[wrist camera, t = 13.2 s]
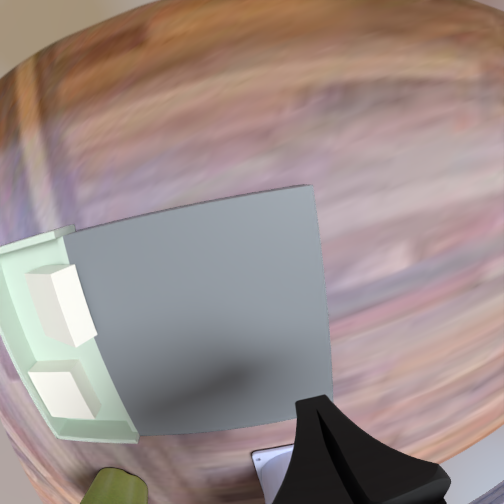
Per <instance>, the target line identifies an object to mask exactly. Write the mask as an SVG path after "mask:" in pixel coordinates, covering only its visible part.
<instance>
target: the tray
mask: <svg viewBox="0 0 504 504" xmlns="http://www.w3.org/2000/svg"><path fill="white" fill-rule="evenodd" d="M75 231H76V230H75V225H74V224H72V225H69V226H65V227H62V228H58V229H54V230H51V231H48V232H44V233H41V234H37V235H34V236H31V237H27V238H24V239H21V240H18V241H14V242H11V243H8V244H5V245H2V246H0V335H1V337H2V339H3V342H4V344H5V346H6V349H7V351H8V353H9V355H10V357H11V359H12V362H13V364H14V366H15V368H16V370H17V372H18V374H19V376H20V378H21V380H22V382H23V383H24V385H25V387H26V389H27V391H28V393H29V394H30V396H31V398H32V400H33V402H34V403H35V405H36V407H37V408H38V410H39V412H40V413H41V415H42V417H43V418H44V420H45V421H46V423H47V425H48V426H49V428H50V429H51V431H52V432H53V434H54V435H55V437H56V438H57V439H65V440H74V441H86V442H101V443H131V444H138V441H139V438H140V435H139V433H138V431H137V430H136V428H135V426H134V424H133V422H132V420H131V418H130V417H129V415H128V413H127V411H126V409H125V407H124V405H123V403H122V401H121V399H120V397H119V395H118V392H117V390H116V388H115V386H114V384H113V382H112V380H111V377H110V375H109V373H108V371H107V368H106V366H105V364H104V361H103V359H102V357H101V354H100V352H99V349H98V347H97V344H96V342H95V339H94V337H93V338H91V339H90V340H88V341H86V342H85V343H83V344H81V345H80V346H78V347H77V348H75V347H73V346H70V345H68V344H65V343H62V342H60V341H58V340H55V339H53V338H50V337H48V336H46V335H45V333H44V330H43V328H42V325H41V323H40V320H39V317H38V315H37V312H36V309H35V306H34V303H33V300H32V297H31V294H30V291H29V288H28V285H27V282H26V278H25V275H24V273H27V272H29V271H32V270H34V269H37V268H39V267H42V266H44V265H66V264H70V263H69V260H68V256H67V252H66V248H65V244H64V240H63V236H64V235H67V234H69V233H72V232H75ZM71 359H80V361H81V364H82V366H83V368H84V370H85V373H86V375H87V377H88V379H89V381H90V383H91V385H92V387H93V389H94V391H95V393H96V395H97V397H98V399H99V401H100V403H101V407H100V409H99V412H98V414H97V416H96V418H95V419H80V418H63V417H52V416H51V414H50V412H49V411H48V409H47V407H46V405H45V404H44V402H43V400H42V398H41V397H40V395H39V393H38V391H37V389H36V388H35V386H34V384H33V382H32V380H31V378H30V376H29V374H28V371H29V370H30V369H31V368H32V367H33V365H34V364H35V363H36V362H37V361H48V360H71Z"/></svg>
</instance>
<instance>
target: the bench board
mask: <svg viewBox="0 0 504 504" xmlns="http://www.w3.org/2000/svg"><path fill="white" fill-rule="evenodd" d="M63 240H64V244H65V248H66V252H67V256H68V260H69V263H70V264H75V267H76V270H77V274H78V277H79V281H80V284H81V287H82V291H83V294H84V297H85V300H86V303H87V306H88V309H89V312H90V315H91V318H92V321H93V324H94V326H95V329H96V332H97V334H98V335H96V336H94V339H95V342H96V344H97V347H98V349H99V352H100V354H101V357H102V359H103V361H104V364H105V366H106V368H107V371H108V373H109V375H110V377H111V380H112V382H113V384H114V386H115V388H116V390H117V392H118V395H119V397H120V399H121V401H122V403H123V405H124V407H125V409H126V411H127V413H128V415H129V417H130V418H131V420H132V422H133V424H134V426H135V428H136V430H137V431H138V433H139V435H140V436H153V435H176V434H191V433H203V432H213V431H222V430H230V429H238V428H245V427H251V426H258V425H264V424H269V423H275V422H280V421H285V420H290V419H295V418H297V415H296V408H295V402H296V401H298V400H302V399H307V398H311V397H315V396H319V395H323V394H325V395H327V396H328V397H329V399H330V400H331V401H332V402H333V381H332V362H331V346H330V332H329V320H328V308H327V297H326V287H325V277H324V268H323V259H322V250H321V242H320V234H319V226H318V219H317V211H316V204H315V197H314V191H313V185H304V184H303V185H296V186H290V187H283V188H277V189H271V190H265V191H259V192H253V193H247V194H242V195H236V196H231V197H225V198H220V199H215V200H209V201H204V202H199V203H194V204H189V205H184V206H179V207H175V208H170V209H165V210H161V211H156V212H151V213H147V214H143V215H138V216H134V217H129V218H125V219H121V220H117V221H112V222H108V223H104V224H100V225H96V226H92V227H88V228H84V229H80V230H77V231H75V232H72V233H69V234H67V235H64V236H63Z"/></svg>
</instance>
